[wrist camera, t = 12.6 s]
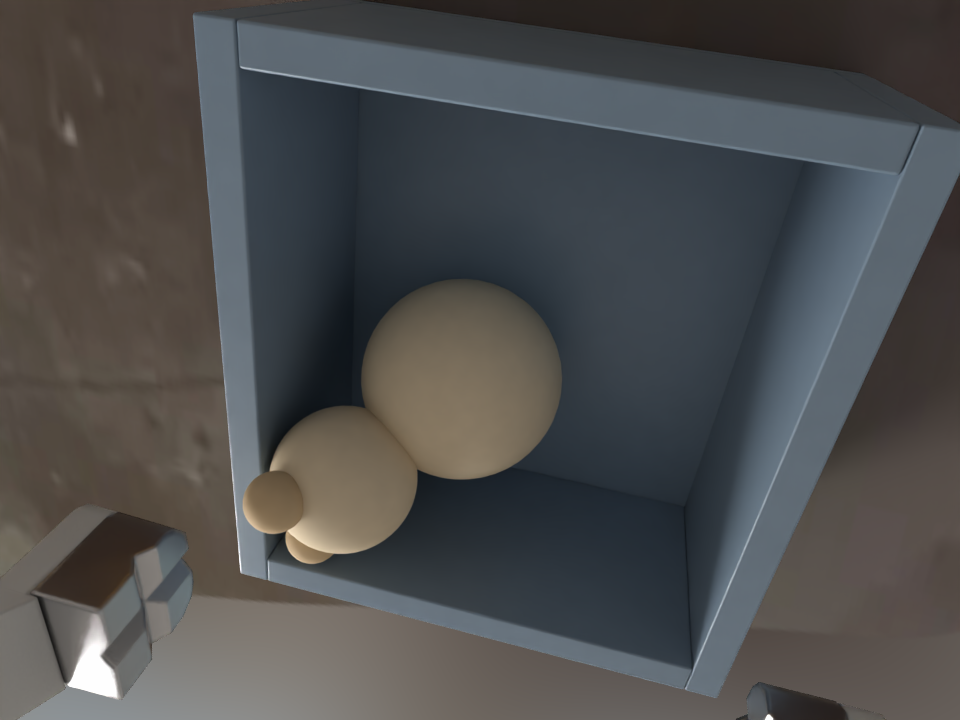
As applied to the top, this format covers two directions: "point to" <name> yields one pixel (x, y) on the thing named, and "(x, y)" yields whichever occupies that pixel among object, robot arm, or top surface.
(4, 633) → the robot arm
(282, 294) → the bin
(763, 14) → the top surface
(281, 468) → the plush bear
